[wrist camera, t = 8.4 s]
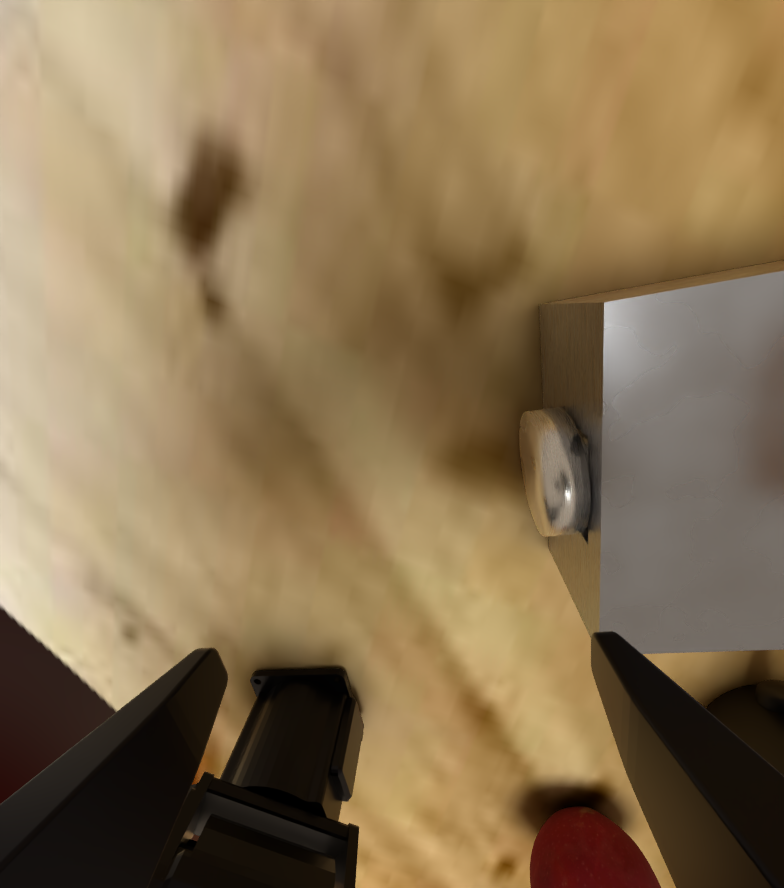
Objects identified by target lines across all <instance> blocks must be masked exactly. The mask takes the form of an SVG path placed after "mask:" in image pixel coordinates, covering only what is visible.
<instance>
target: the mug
mask: <svg viewBox="0 0 784 888" xmlns="http://www.w3.org/2000/svg"><path fill="white" fill-rule="evenodd" d="M707 710H708V711H709V712H710V713H711V714H712V715H714V716H715V717H716V718H717V719H718V720H719V721H721V722H722V723H723V724H724V725H725V726H726V727H728V728H729V729H730V730H731V731H732V732H733V733H735V734H736V735H737V736H738V737H739V738H740V739H741V740H743V741H744V742H745V743H746V744H747V745H748V746H750V747H751V748H752V749H753V750H754V751H755V752H757V753H758V754H759V755H760V756H761V757H762V758H764V759H765V760H766V761H767V762H768V763H769V764H771V765H772V766H773V767H774V768H775V769H776V770H778V771H779V772H780V773H781V774H782V775H783V776H784V681H777V680H766V681H763V682H760V683H759V684H758V685H753V686H746V687H742V688H738V689H735V690H732V691H730V692H727V693H725V694H723V695H722V696H720V697H718V698H717V699H715V700H714V701H713V702H712V703H711V704H710V705H709V706H708V708H707Z"/></svg>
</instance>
